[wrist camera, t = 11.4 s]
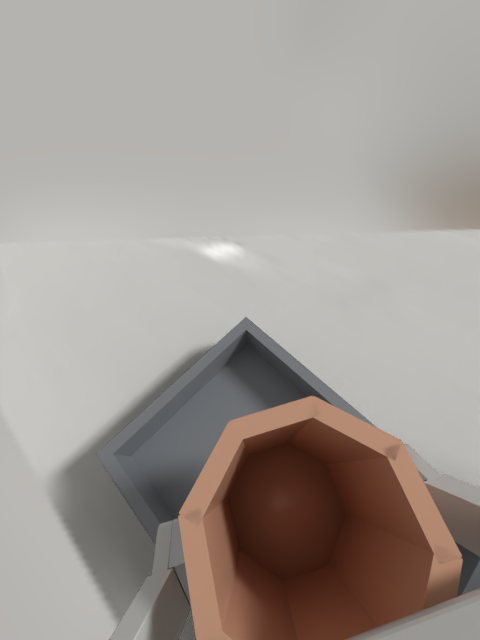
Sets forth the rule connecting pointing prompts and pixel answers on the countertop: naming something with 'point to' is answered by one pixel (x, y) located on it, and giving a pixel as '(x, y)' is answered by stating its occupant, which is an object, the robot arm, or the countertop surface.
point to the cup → (311, 530)
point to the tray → (214, 425)
